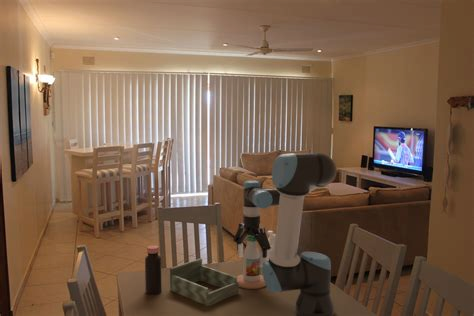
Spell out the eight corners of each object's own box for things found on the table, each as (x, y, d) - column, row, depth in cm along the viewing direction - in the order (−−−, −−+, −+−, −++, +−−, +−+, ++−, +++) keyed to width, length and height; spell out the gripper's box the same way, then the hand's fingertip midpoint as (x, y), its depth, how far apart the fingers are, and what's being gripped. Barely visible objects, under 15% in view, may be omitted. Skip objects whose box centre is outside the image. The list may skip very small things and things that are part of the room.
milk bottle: (240, 280, 206) (240, 237, 204) (247, 275, 213) (247, 233, 211) (255, 283, 203) (255, 240, 201) (262, 278, 210) (263, 235, 207)
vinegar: (148, 296, 193) (148, 250, 191) (143, 290, 199) (142, 246, 196) (163, 292, 196) (163, 247, 194) (158, 287, 202) (157, 243, 200)
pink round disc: (274, 282, 209) (274, 279, 208) (253, 291, 198) (253, 288, 197) (249, 274, 219) (249, 271, 219) (228, 282, 208) (228, 279, 208)
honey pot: (258, 269, 225) (258, 234, 224) (264, 261, 238) (264, 227, 236) (283, 272, 222) (284, 236, 220) (288, 263, 234) (289, 229, 232)
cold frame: (238, 293, 196) (238, 270, 195) (208, 306, 183) (208, 282, 182) (200, 279, 212) (200, 258, 211) (170, 290, 199) (170, 268, 198)
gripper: (278, 218, 199) (278, 265, 201) (237, 209, 216) (237, 253, 218) (268, 221, 194) (267, 269, 196) (226, 212, 211) (226, 256, 213)
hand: (251, 260), depth 207 cm, fingers open, 13 cm apart
